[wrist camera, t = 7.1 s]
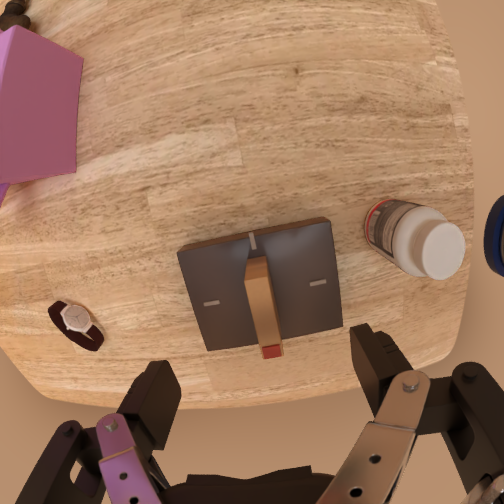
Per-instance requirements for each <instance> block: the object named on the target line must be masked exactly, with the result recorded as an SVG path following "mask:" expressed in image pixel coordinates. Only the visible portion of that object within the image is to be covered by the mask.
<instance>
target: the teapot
mask: <svg viewBox="0 0 504 504" xmlns="http://www.w3.org/2000/svg"><path fill="white" fill-rule="evenodd" d="M82 66H83V58H82V57H80V56H78V55H76V54H75V53H73V52H71V51H69V50H67V49H65V48H63V47H61V46H60V45H58V44H56V43H54V42H52V41H50V40H48V39H46V38H44V37H42V36H40V35H38V34H36V33H34V32H32V31H30V30H27V29H25V28H23V27H21V26H19V25H15V26H12V27H11V28H9V29H8V30H6V31H5V32H4V31H2V30H1V29H0V207H1V204H2V202H3V200H4V197H5V195H6V192H7V190H8V187H9V185H13V184H17V183H22V182H26V181H31V180H36V179H41V178H46V177H51V176H57V175H62V174H68V173H74V172H76V128H77V111H78V99H79V89H80V80H81V73H82Z"/></svg>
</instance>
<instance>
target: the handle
mask: <svg viewBox="0 0 504 504" xmlns="http://www.w3.org/2000/svg"><path fill="white" fill-rule="evenodd" d="M244 284H245V288H246V292H247V296H248V300H249V305H250V309H251V313H252V317H253V321H254V325H255V329H256V334H257V338H258V342H259V346H260V350H261V354H262V358H263V359H269V358H275V357H280V356H283V355H284V353H283V344H282V336H281V328H280V321H279V316H278V311H277V306H276V301H275V296H274V291H273V286H272V282H271V277H270V272H269V267H268V262H267V257H266V256H262V257H257V258H251V259H247V265H246V271H245V278H244Z"/></svg>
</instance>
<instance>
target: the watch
mask: <svg viewBox="0 0 504 504" xmlns="http://www.w3.org/2000/svg"><path fill="white" fill-rule="evenodd" d="M48 313H49V316H50V318H51V320H52V321H53V323H54V324H55V325H56V326H57V327H58V328H59V330H60V331H61V332H62V333H63V334H64V335H66V337H68V338H69V339H70V340H71V341H73V342H75V343H76V344H78V345H79V346H81V347H83V348H85V349H87V350H89V351H98V349H99V348H100V346H101V344H102V343H103V341H104V337H103V334H102V333H101V331H100V330H99V329H98V328H97V327H96V326H95V325H93V323H92V322H91V320H90V316H89V314H88V312H87V311H86V310H85V309H84V308H83V307H81V306H77V305H71V306H70V305H69V304H68V305H67V304H66V303H64V302H62V301H57V302H55V303H54V304H53V305H52V306H50V307H49V308H48ZM61 315H63V317H62V316H61ZM78 331H83V332H85V333H86V334H88V335H89V336H90V337H91V338H92V339H93V340H94V341H93V340H91V339H89V338H87V337H85V336H84V335H83V334H81V333H80V332H78Z"/></svg>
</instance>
